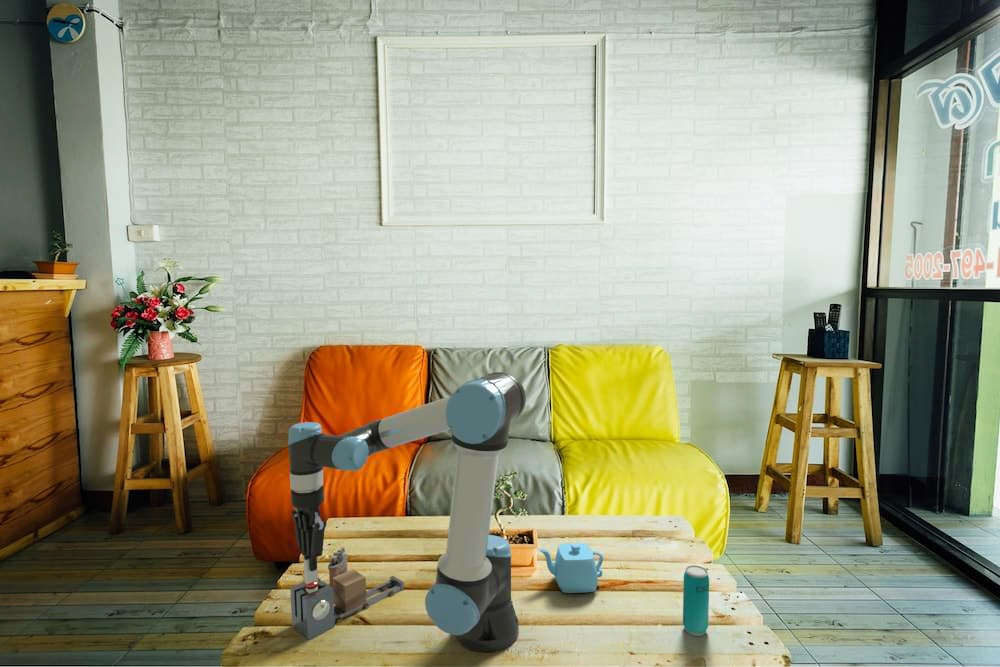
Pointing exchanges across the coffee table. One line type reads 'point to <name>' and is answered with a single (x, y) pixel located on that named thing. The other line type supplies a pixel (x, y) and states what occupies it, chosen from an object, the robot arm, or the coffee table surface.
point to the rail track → (383, 587)
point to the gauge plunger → (311, 587)
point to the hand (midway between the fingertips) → (311, 581)
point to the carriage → (349, 590)
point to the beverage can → (695, 600)
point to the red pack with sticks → (337, 564)
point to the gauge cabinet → (312, 609)
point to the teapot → (575, 567)
